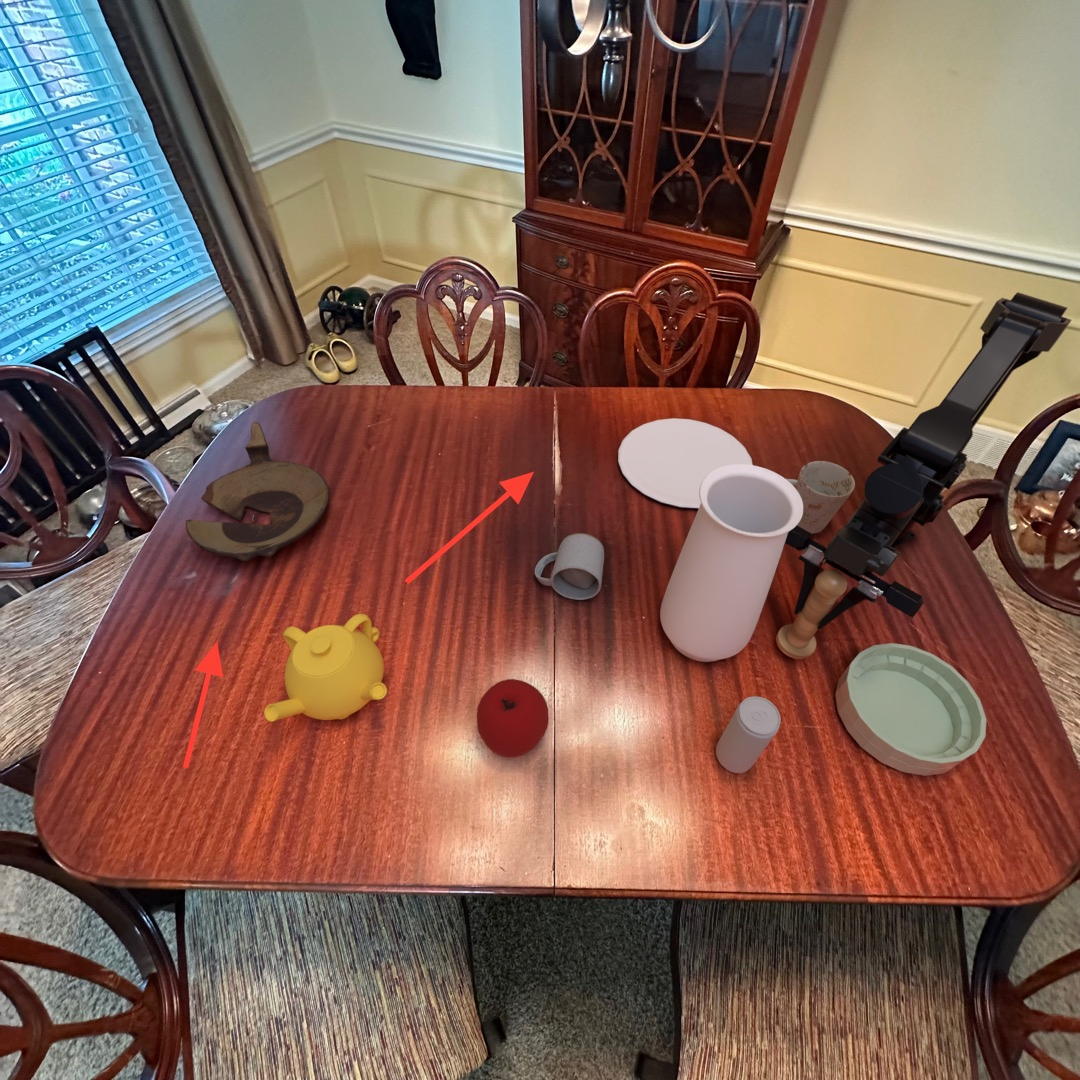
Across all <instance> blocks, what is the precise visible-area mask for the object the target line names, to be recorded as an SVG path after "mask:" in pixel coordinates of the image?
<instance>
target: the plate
mask: <svg viewBox="0 0 1080 1080" xmlns="http://www.w3.org/2000/svg"><path fill="white" fill-rule="evenodd" d="M617 454H618V455H617V458H618V459H617V464H618V466H619V468H620V471H621V473H622V475H623V476H624V477H625V479H626V480H627V481H628V483H629V484H630V485H631V487H633V488H635V490H637V491H638V492H640V493H641V494H642V495H644V496H646V497H648V498H650V499H652V500H654V501H657V502H659V503H661V504H664V505H669V506H673V507H677V508H679V509H680V508H681V509H695V510H696V509H697V510H698V509H699V507H700V505H701V502H700V498H699V489H700V485H701V483H702V481H703V479H704V478H705V477H706V476H707V475H708V474H709V473H711V472H712V471H714V470H716V469H718V468H720V467H724V466H728V465H735V464H745V465H753V466H754V464H753V460H752V457H751V455H750V454H749V451H747V449H746V447H745V446H744V444H742V443H741V442H740V441H739V440H738V439H737V438H736V437H734V436H733V435H731V434H730V433H728V432H727V431H725V430H723V429H721V428H720V427H717V426H715V425H712V424H710V423H707V422H703V421H699V420H695V419H691V418H663V419H656V420H653V421H650V422H646V423H643V424H641V425H639V426H638V427H636V428H634V429H632V430H631V431H630V432H628V434H627V435H626V436H624V438H623V439H622V441H621V443H620V446H619V448H618V450H617Z"/></svg>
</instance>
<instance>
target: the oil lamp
mask: <svg viewBox="0 0 1080 1080" xmlns="http://www.w3.org/2000/svg"><path fill="white" fill-rule="evenodd" d="M250 429H251V430H250V439H249V441H248V443H247V444H246V445H245V447H244V448H245V451H246V453H247V456H248V457H249V461H250V463H249V464H246V465H245V466H243V467H241V468H237V469H235V470H233V471H230V472H228V473H226V474H224V475H222V476H220V477H218V478H216V479H214V480H213V481H211V482H210V483H209V484H208V485H206V487H205V492H204V493H203V494H202V496H201V497H200V499H201V501H203V502H205V503H206V504H207V505H209V506H211V507H213V509H216V510H217V511H219V512H221V513H222V514H224V515H226V516H228V517H230V518H232V519H234V520H235V521H234V522H231V521H230V522H229V521H228V522H227V521H225V522H220V521H215V522H214V521H213V522H211V521H206V520H205V521H204V520H195V519H186V520H185V530H186V533H187V535H188V536H189V538H190V539H191V541H193V543H194V544H196V546H198V547H200V548H201V549H202V550H204V551H206V552H208V553H211V554H212V555H217V556H218V557H219V556H220V557H223V558H234V559H237V560H239V561H241V562H248V561H251V560H253V559H254V558H257V557H272V556H274V555H275V553H277V552H278V551H279V550H281V549H283V548H285V547H287V546H289V545H291V544H292V543H295V542H296V541H298V540H299V539H301V538H303V537H304V536H305V535H307V534H308V533H309V532H310V531H311V530H312V529H314V527H316V525H317V524H318V523H319V522H320V521H321V520H322V518H323V516H324V515H325V513H326V511H327V509H328V507H329V503H330V502H329V501H330V489H329V485H328V483H327V481H326V479H325V478H324V476H322V475H321V474H320V473H319V472H318V471H316V470H315V469H313V468H311V467H309V466H307V465H304V464H301V463H297V462H294V461H293V462H291V461H280V460H279V461H277V460H272V459H271V455H270V449H269V444H268V442H267V439H266V436H265V433H264V431H263V428H262V425H261V424H260V423H259V422H258V421H253V423H252V424H251V428H250ZM246 508H250V509H252V510H253V511H258V512H260V513H261V512H262V513H266V514H267V513H268V514H269V518H270V522H271V523H270V524H261V523H250V522H241V521H243V518H244V516H245V514H246ZM254 517H255V514H253V515H252V517H251V520H252V522H254ZM236 521H238V522H236Z"/></svg>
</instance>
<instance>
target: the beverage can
mask: <svg viewBox="0 0 1080 1080" xmlns="http://www.w3.org/2000/svg"><path fill="white" fill-rule="evenodd" d="M781 720H782V719H781V714H780V711H779V710H778V707H777V706H776V705H775V704H774V703H772V702H771V701H770V700H769V699H767V698H765V697H762V696H757V695H755V696H748V697H747V698H745V699H743V700H742V701H741V702H740V703H739V704H738V706H737V707H736V709H735V711H734V713H733V715H732V716H731V718H730V720H729V722H728V724H727V726H726V727H725V730H724V731H723V733H722V734H721V736H720V738H719V740H718V742H717V744H716V746H715V755H716V758H717V761H718V762H719V764H720V765H721V766H722V767H723V768H724V769H725V770H727V771H728V772H730V773H734V774H743V773H746V772H747V771H749V770H750V769H751V768H752V767H753V766H754V764H755V763H756V762H757V760H758V759H759V757H761V755H762V754H763V752H764V751H765V749H766V748H767V746H768V745H769V744H770V743H771V742H772V740H773V739H774V737H775V735H777V733H778V732H779V729H780V725H781Z"/></svg>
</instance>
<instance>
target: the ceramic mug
mask: <svg viewBox="0 0 1080 1080" xmlns="http://www.w3.org/2000/svg"><path fill="white" fill-rule="evenodd" d="M552 562H554V564H553V569H552V571H551V574H550V578H547V577H542V574H543V571H544V569H545V567H546V566H547V565H548V564H550V563H552ZM604 564H605V549H604V545H603V544H602V542H601V541H600V540H599V539H598V538H597V537H595V536H593V535H592V534H588V533H583V532H575V533H571V534H569V535H567V536H566V537H564V538H563V539H562V541H561V542H560V545H559V547H558V549H557V551H555V552H551V553H549V554H546V555H545V556H543V557H542V558H541V559H539V561H538V562H537V564H536V565H535V568H534V575H535V578H536V579H537V581H538V583H540V584H541V585H543V586H547V587H548V586H549V587H552V589H553V590H554V591H555V592H556V593H557V594H558V595H561V596H562V597H564V598H567V599H570V600H577V601H584V600H589V599H592V598H594V597H596V596H597V595H598V594H599V592H600V591H601V589H602V584H603V583H602V581H603V574H604V573H603V572H604Z"/></svg>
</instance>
